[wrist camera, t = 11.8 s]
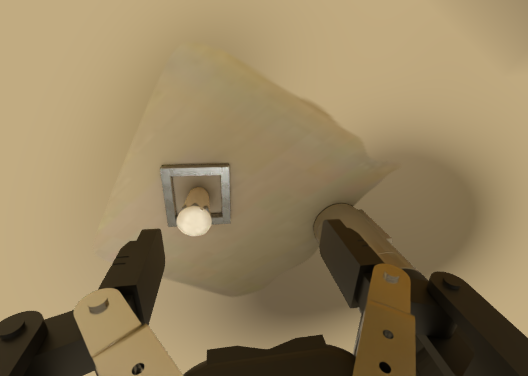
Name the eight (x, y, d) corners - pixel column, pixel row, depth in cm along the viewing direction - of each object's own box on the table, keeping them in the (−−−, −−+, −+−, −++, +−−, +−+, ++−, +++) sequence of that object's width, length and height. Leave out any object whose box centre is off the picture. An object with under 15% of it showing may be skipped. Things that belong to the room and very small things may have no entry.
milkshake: (219, 185, 41) (219, 216, 32) (205, 211, 43) (202, 248, 34) (193, 174, 40) (185, 203, 31) (179, 202, 42) (168, 237, 33)
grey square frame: (228, 163, 40) (229, 167, 39) (230, 218, 44) (230, 223, 43) (162, 165, 39) (160, 168, 37) (169, 222, 43) (168, 226, 41)
